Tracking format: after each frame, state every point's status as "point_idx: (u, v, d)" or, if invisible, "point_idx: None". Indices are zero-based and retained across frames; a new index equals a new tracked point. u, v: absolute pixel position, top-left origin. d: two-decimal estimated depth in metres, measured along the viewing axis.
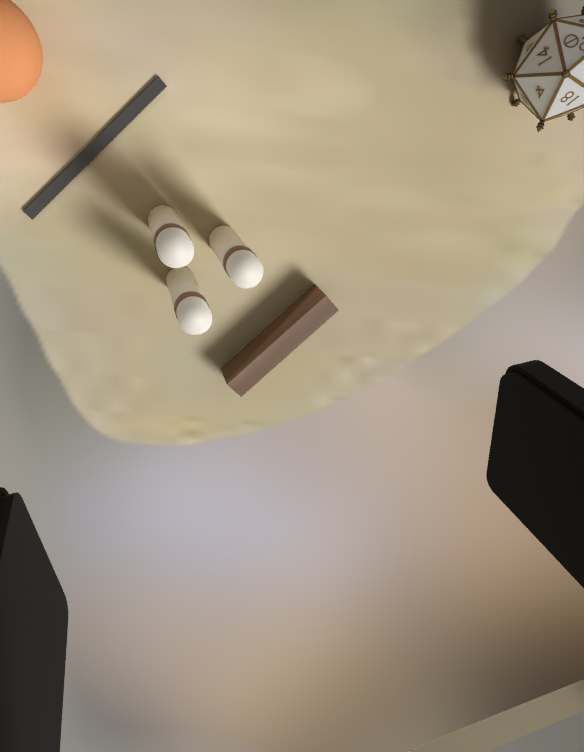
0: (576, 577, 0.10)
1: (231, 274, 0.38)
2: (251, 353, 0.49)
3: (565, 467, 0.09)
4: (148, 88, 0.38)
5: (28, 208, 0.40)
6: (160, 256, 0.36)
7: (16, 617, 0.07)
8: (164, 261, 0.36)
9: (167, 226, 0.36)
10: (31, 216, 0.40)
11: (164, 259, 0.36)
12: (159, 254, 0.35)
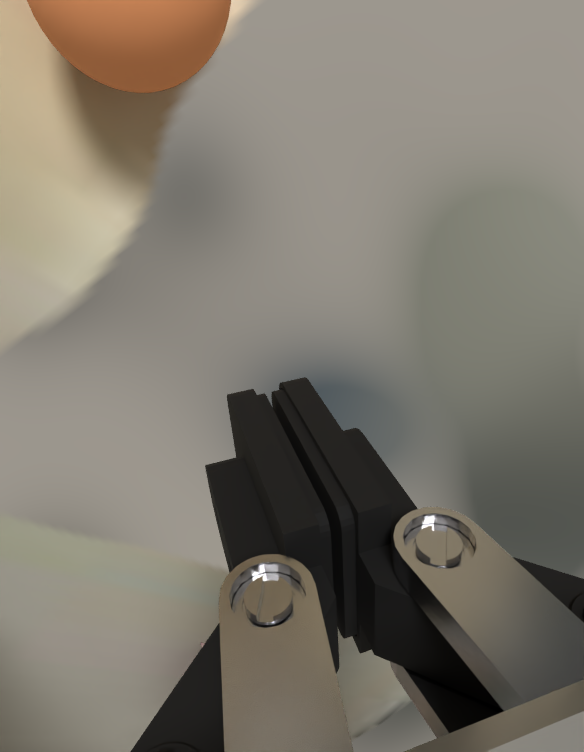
0: None
1: None
2: None
3: None
4: None
5: None
6: None
7: None
8: None
9: None
10: None
11: None
12: None
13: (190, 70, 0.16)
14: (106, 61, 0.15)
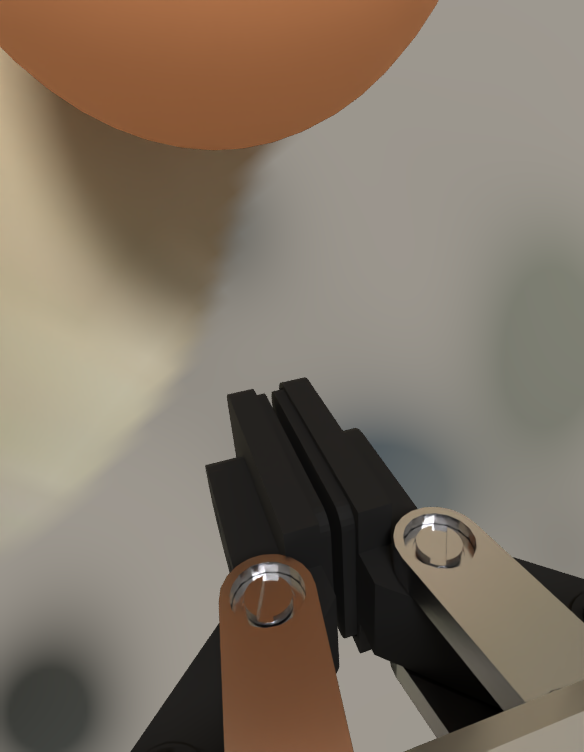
0: None
1: None
2: None
3: None
4: None
5: None
6: None
7: None
8: None
9: None
10: None
11: None
12: None
13: (356, 95, 0.06)
14: (139, 78, 0.05)
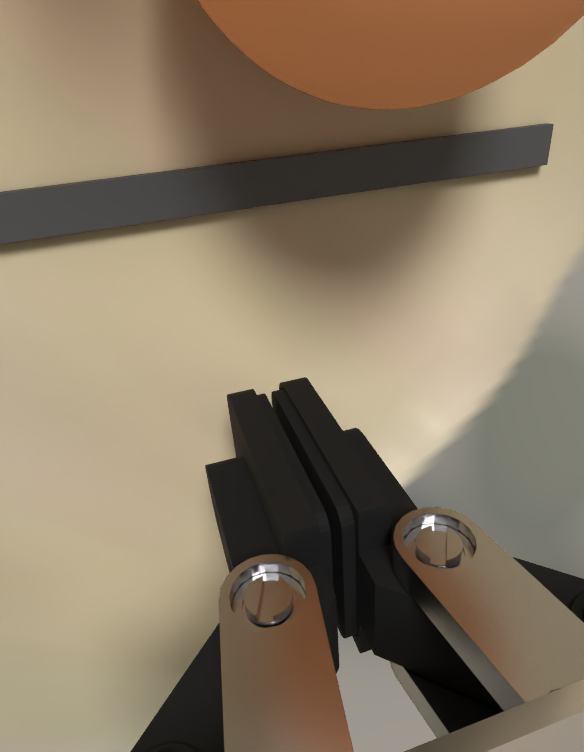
0: None
1: None
2: None
3: None
4: None
5: (530, 161, 0.11)
6: None
7: None
8: None
9: None
10: (546, 134, 0.11)
11: None
12: None
13: None
14: None
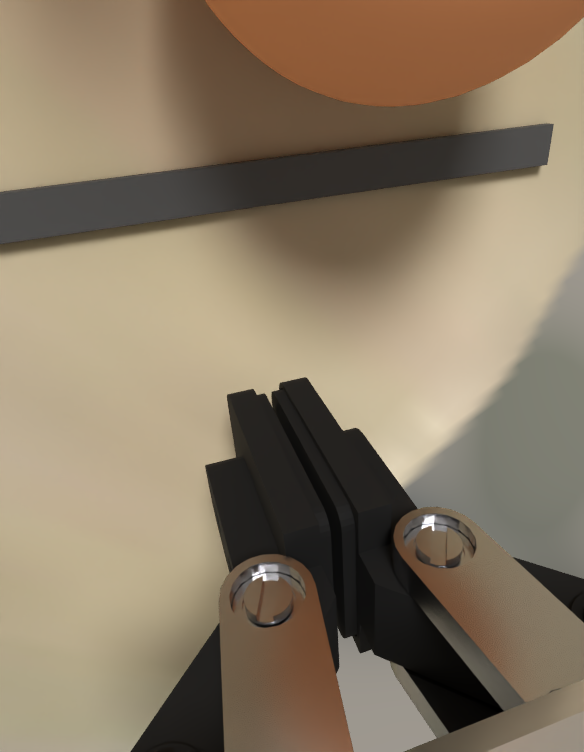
0: None
1: None
2: None
3: None
4: None
5: (530, 161, 0.11)
6: None
7: None
8: None
9: None
10: (546, 134, 0.11)
11: None
12: None
13: None
14: None
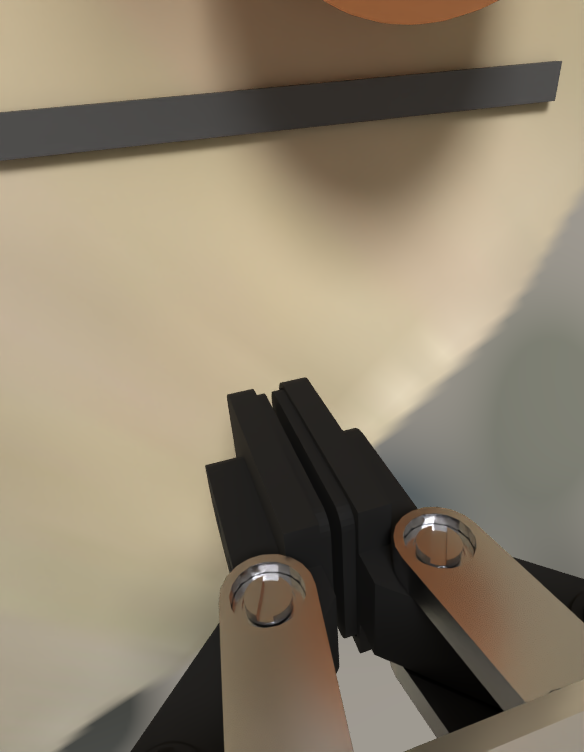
0: None
1: None
2: None
3: None
4: None
5: (539, 97, 0.12)
6: None
7: None
8: None
9: None
10: (555, 71, 0.12)
11: None
12: None
13: None
14: None
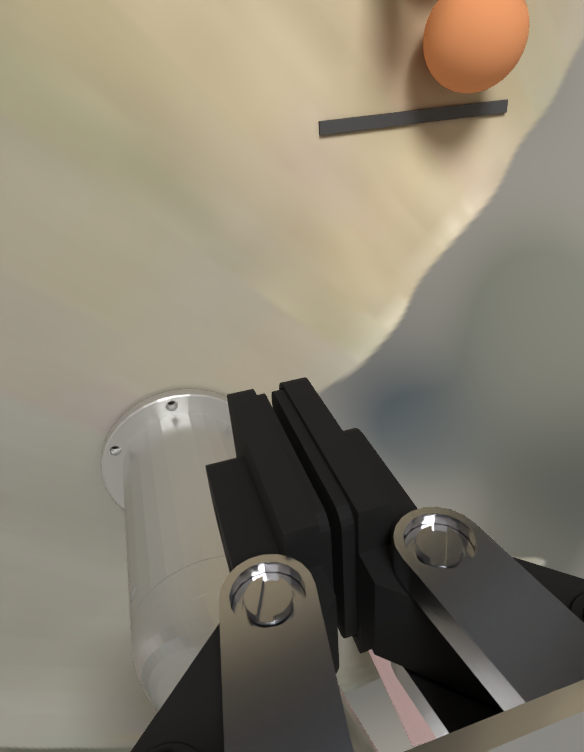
0: None
1: None
2: None
3: None
4: (336, 131, 0.35)
5: (501, 111, 0.38)
6: None
7: None
8: None
9: None
10: (506, 102, 0.38)
11: None
12: None
13: None
14: None
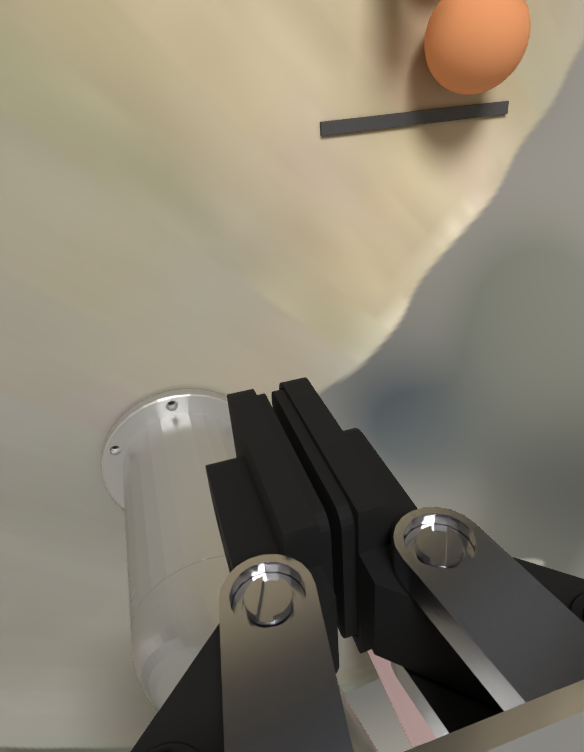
0: None
1: None
2: None
3: None
4: (337, 132, 0.35)
5: (502, 112, 0.38)
6: None
7: None
8: None
9: None
10: (506, 104, 0.38)
11: None
12: None
13: None
14: None
